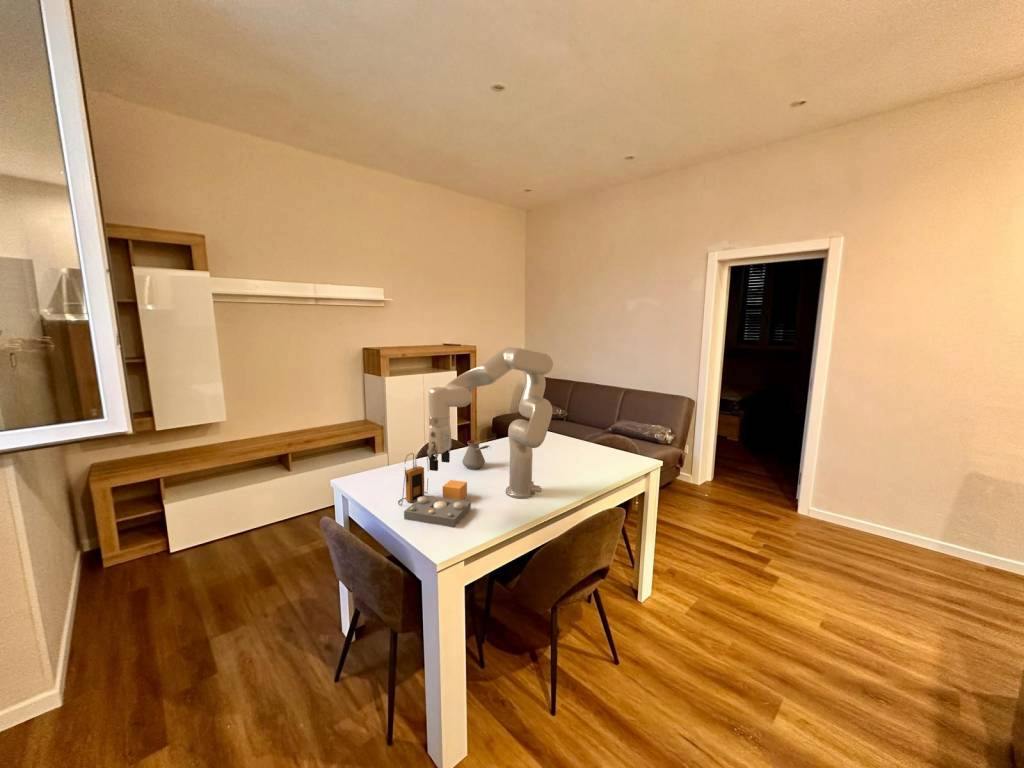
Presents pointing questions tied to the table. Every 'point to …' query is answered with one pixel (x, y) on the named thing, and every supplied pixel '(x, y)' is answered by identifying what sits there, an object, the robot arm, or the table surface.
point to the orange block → (455, 490)
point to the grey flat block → (437, 511)
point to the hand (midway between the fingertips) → (439, 466)
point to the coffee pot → (474, 455)
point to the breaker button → (440, 505)
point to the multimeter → (414, 482)
